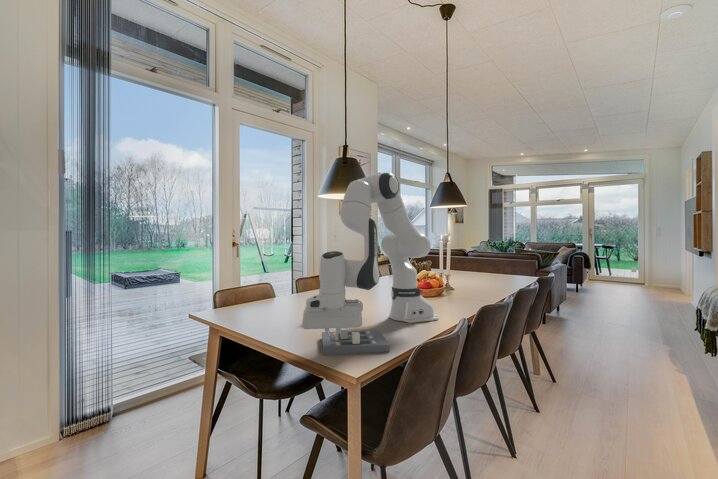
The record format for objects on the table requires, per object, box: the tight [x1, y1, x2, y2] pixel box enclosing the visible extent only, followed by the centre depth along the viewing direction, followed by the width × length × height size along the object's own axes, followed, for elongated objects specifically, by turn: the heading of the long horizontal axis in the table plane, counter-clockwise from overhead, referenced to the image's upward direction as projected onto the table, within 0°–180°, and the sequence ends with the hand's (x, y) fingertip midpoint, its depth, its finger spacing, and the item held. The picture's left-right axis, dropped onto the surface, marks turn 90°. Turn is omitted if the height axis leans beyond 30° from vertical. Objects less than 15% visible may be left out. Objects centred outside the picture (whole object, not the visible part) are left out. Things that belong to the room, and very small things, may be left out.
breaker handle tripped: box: [352, 332, 360, 344], centre depth 121 cm, size 2×3×3 cm
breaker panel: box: [321, 329, 390, 356], centre depth 127 cm, size 22×17×3 cm
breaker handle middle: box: [340, 328, 349, 339], centre depth 126 cm, size 2×3×3 cm
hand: (332, 340), depth 120 cm, fingers closed
